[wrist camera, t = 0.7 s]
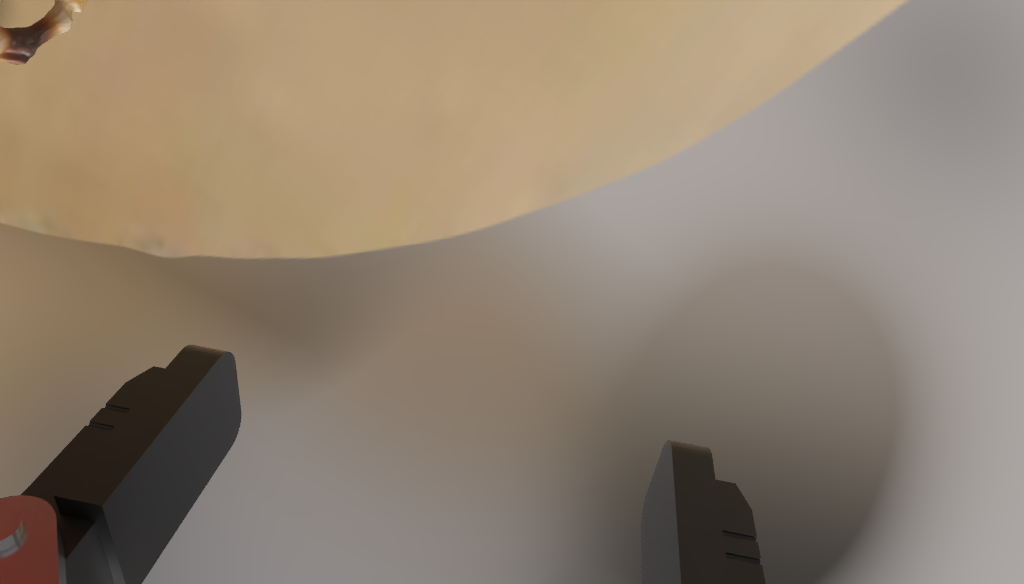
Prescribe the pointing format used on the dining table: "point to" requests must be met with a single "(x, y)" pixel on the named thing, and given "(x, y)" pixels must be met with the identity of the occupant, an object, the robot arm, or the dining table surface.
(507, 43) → the dining table surface
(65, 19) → the horse figurine
